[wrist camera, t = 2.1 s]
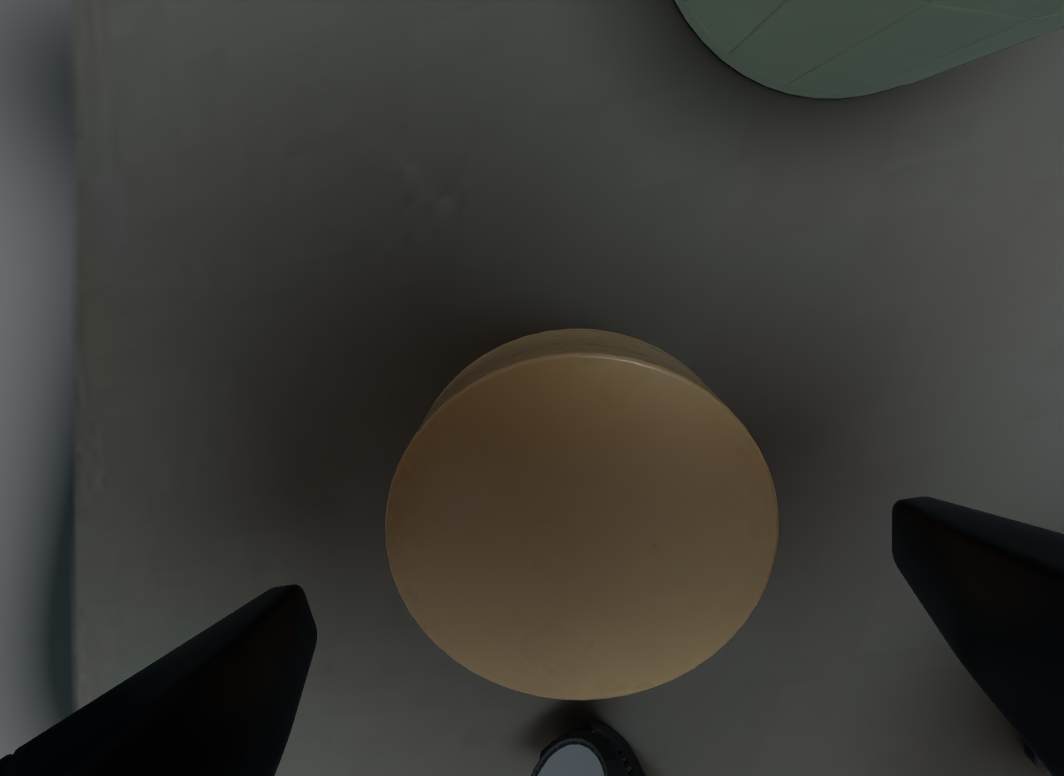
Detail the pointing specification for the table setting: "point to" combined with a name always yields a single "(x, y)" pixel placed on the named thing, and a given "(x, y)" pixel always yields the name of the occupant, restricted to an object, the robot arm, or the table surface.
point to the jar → (861, 38)
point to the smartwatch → (587, 753)
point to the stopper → (581, 517)
